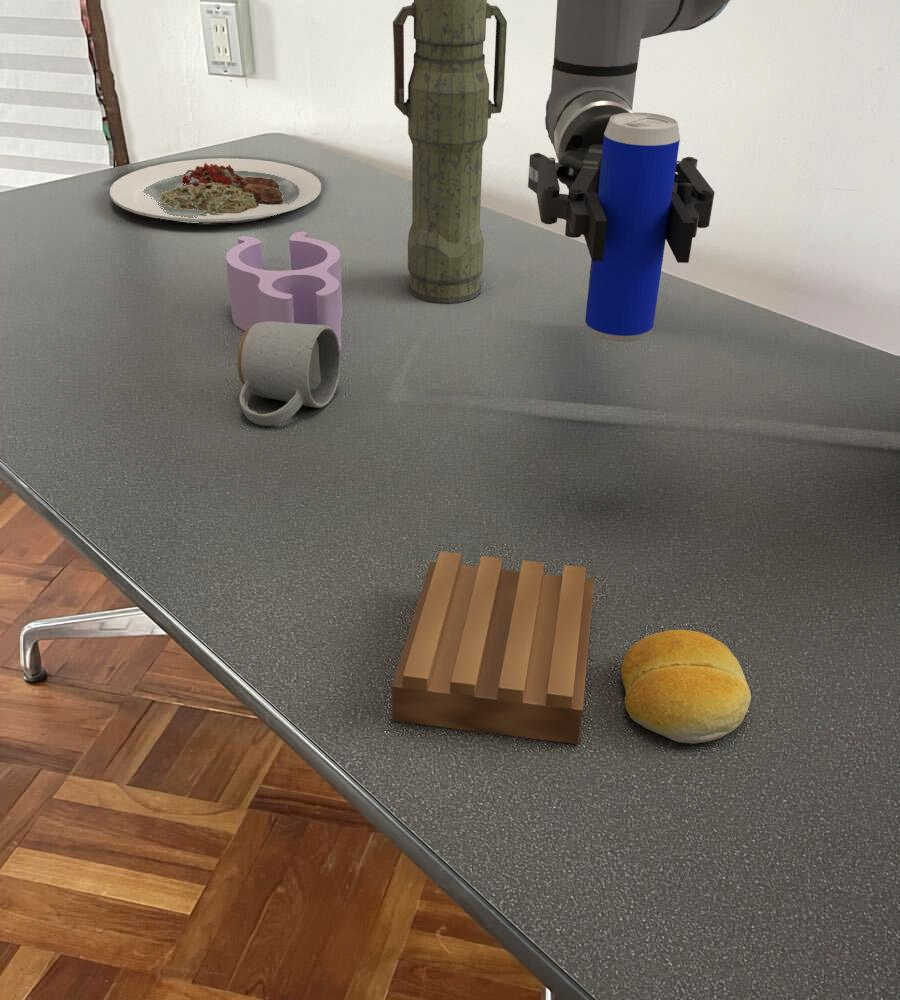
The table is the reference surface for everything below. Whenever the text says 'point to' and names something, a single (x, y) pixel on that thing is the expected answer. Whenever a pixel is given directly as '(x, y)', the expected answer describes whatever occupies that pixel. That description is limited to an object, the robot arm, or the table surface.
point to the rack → (497, 650)
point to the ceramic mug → (288, 367)
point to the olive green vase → (447, 140)
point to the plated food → (215, 190)
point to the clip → (286, 284)
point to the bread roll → (684, 686)
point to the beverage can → (632, 224)
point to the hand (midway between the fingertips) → (642, 241)
